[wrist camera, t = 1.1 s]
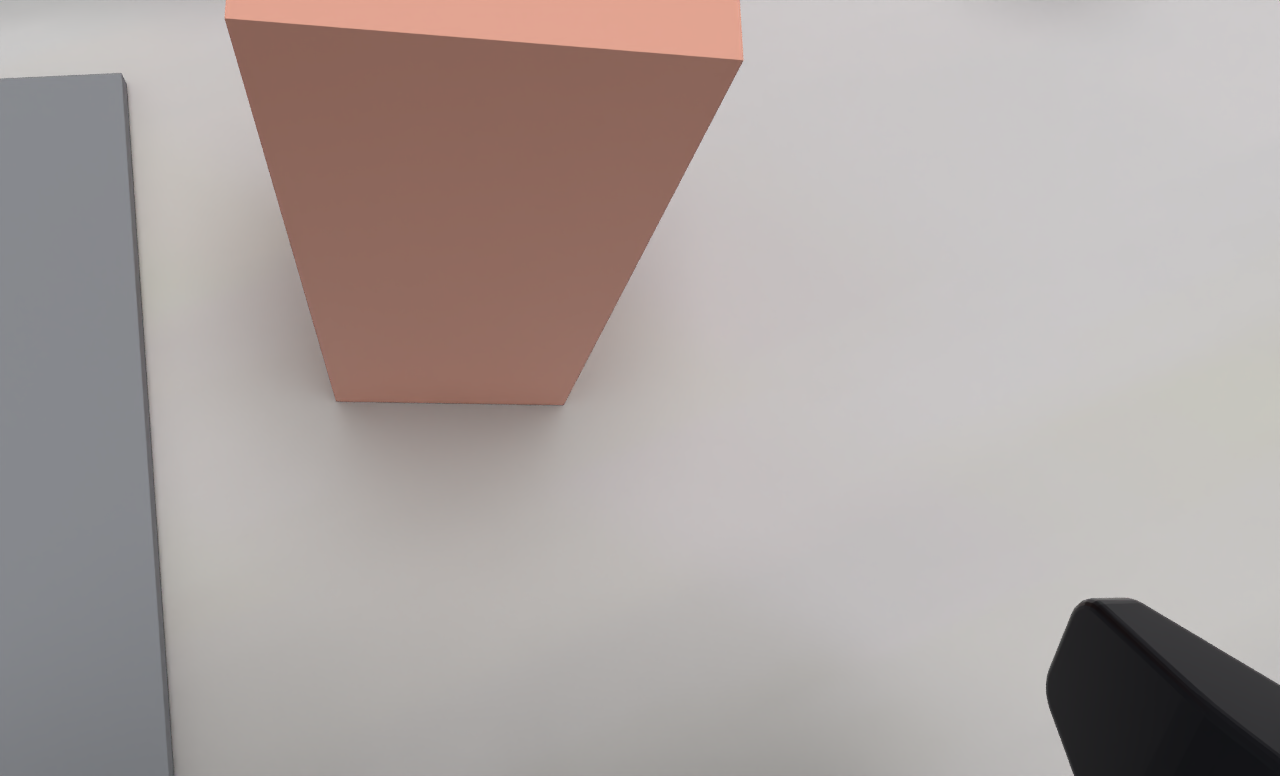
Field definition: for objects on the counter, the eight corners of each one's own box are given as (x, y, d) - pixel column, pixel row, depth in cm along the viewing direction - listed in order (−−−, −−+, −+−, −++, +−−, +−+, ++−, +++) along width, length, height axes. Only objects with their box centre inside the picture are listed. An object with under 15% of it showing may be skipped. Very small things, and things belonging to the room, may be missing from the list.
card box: (563, 405, 22) (743, 60, 10) (336, 401, 21) (224, 18, 9) (560, 181, 24) (715, -370, 11) (345, 169, 23) (258, -443, 10)
